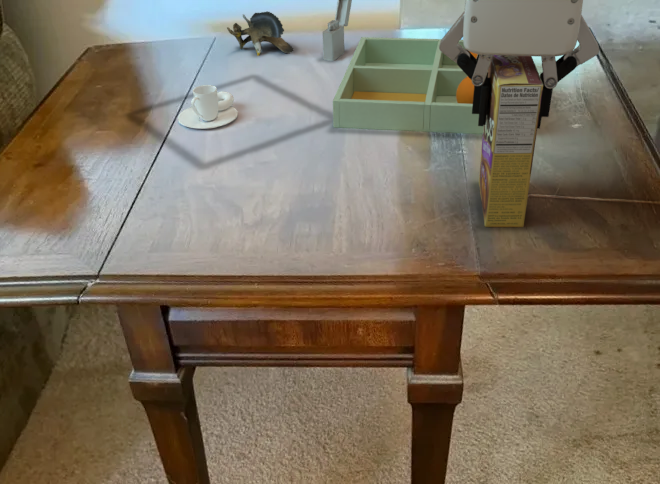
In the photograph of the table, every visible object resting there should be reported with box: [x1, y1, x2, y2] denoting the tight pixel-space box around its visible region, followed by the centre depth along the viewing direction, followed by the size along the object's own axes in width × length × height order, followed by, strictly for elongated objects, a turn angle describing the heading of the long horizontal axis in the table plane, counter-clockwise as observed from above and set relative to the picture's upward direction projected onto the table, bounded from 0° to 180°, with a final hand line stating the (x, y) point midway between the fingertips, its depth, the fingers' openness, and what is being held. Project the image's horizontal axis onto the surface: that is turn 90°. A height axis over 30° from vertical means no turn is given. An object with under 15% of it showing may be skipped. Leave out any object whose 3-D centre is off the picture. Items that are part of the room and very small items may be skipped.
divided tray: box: [332, 36, 484, 135], centre depth 103 cm, size 23×23×4 cm
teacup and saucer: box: [177, 84, 239, 130], centre depth 101 cm, size 9×8×4 cm
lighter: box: [322, 0, 353, 62], centre depth 116 cm, size 7×2×8 cm, turn 153°
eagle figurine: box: [226, 11, 295, 57], centre depth 119 cm, size 8×7×9 cm
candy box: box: [478, 55, 543, 228], centre depth 76 cm, size 9×4×15 cm, turn 175°
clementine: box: [456, 76, 474, 104], centre depth 97 cm, size 5×5×5 cm
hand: (508, 119), depth 75 cm, fingers closed on candy box, 4 cm apart
